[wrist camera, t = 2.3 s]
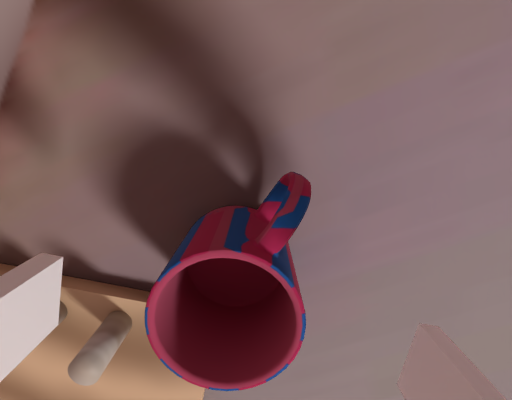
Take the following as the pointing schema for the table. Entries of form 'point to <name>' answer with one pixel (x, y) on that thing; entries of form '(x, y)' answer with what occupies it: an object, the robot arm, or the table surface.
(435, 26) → the table surface
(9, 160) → the table surface
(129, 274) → the table surface
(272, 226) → the cup
